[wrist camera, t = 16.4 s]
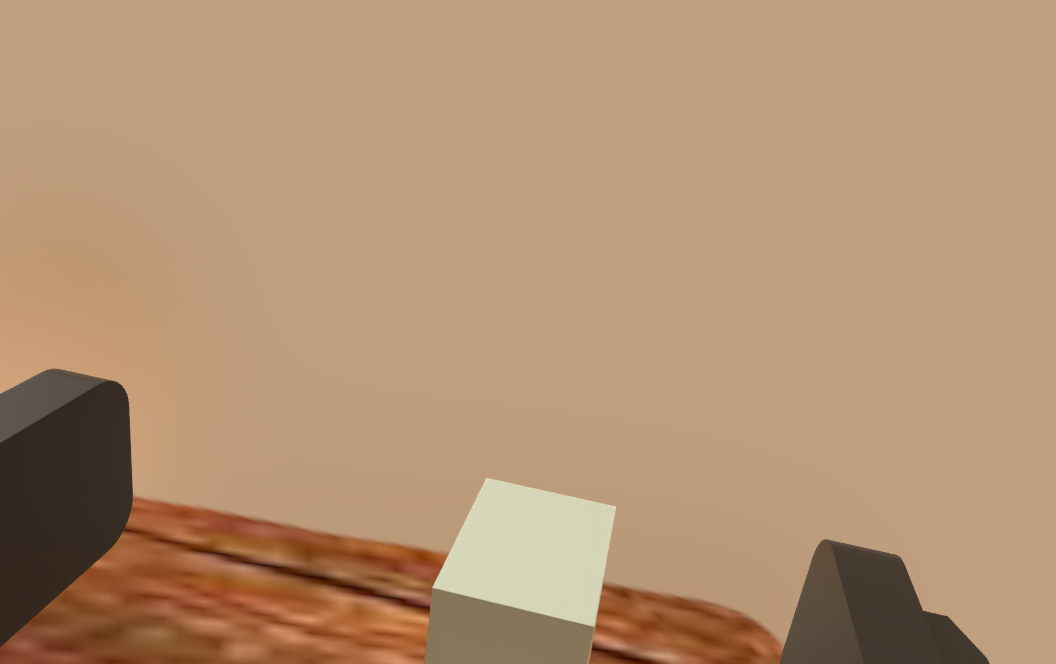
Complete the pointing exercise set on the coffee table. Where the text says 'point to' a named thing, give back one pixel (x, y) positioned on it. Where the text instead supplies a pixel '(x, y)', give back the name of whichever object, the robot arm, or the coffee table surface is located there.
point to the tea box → (521, 580)
